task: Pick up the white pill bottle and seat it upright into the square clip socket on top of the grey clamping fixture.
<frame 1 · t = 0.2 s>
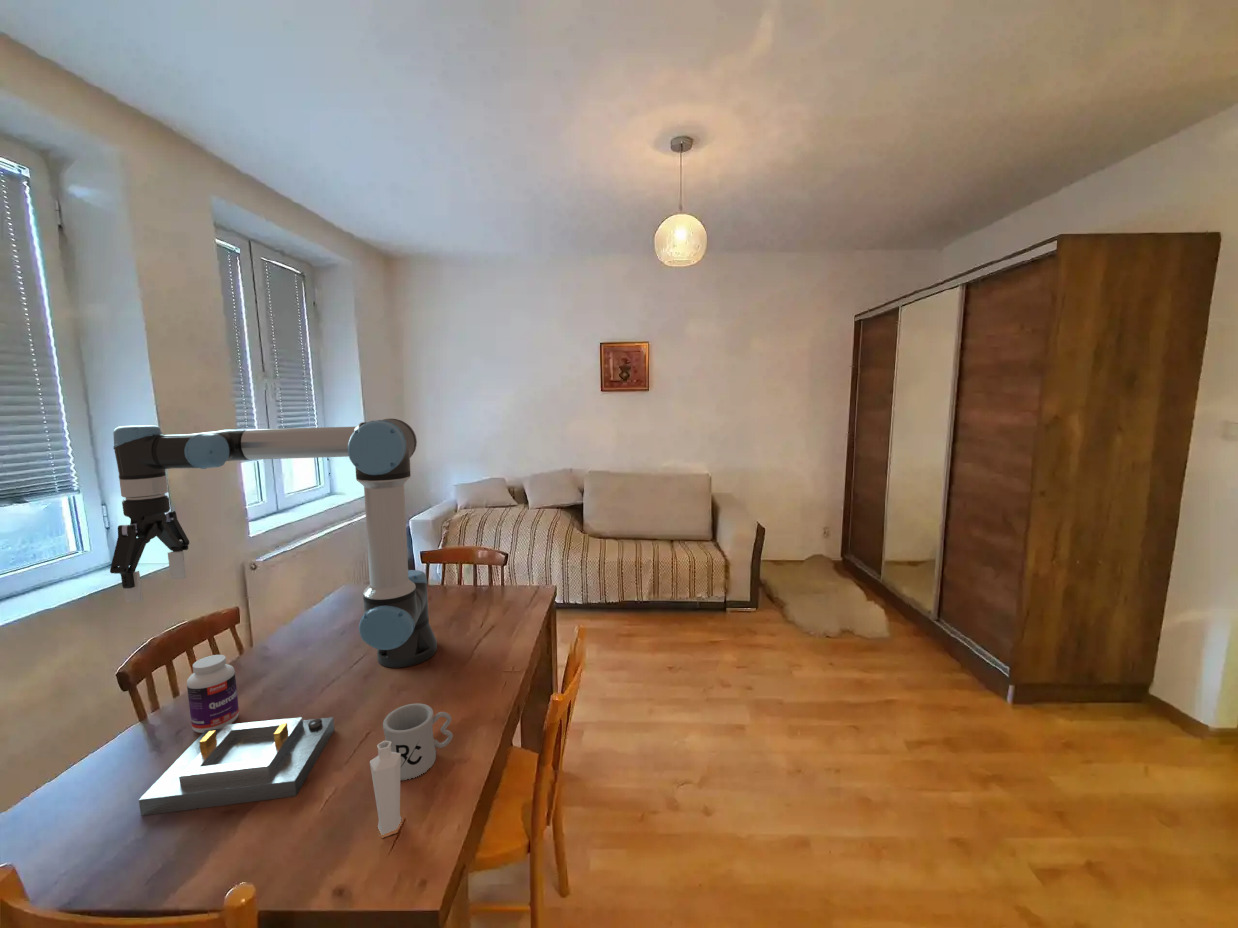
hand: (157, 589, 113), 27 cm above the table, fingers open, 13 cm apart
grey clamping fixture: (248, 767, 96), on the table
perfume bottle: (388, 829, 83), on the table
mug: (420, 762, 98), on the table
pill bottle: (216, 724, 110), on the table
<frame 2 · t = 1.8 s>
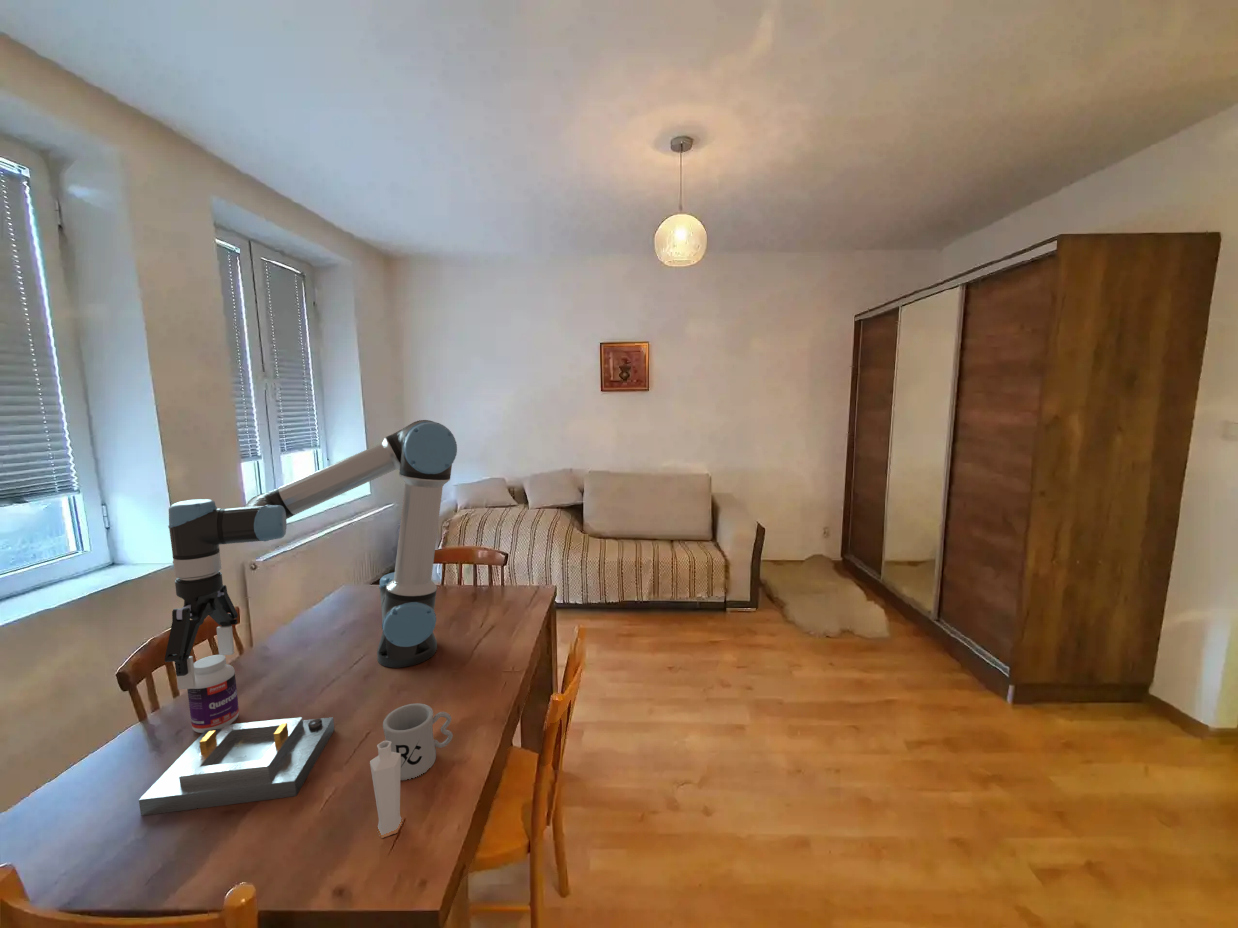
hand: (208, 670, 108), 12 cm above the table, fingers open, 13 cm apart
nothing on the table moved.
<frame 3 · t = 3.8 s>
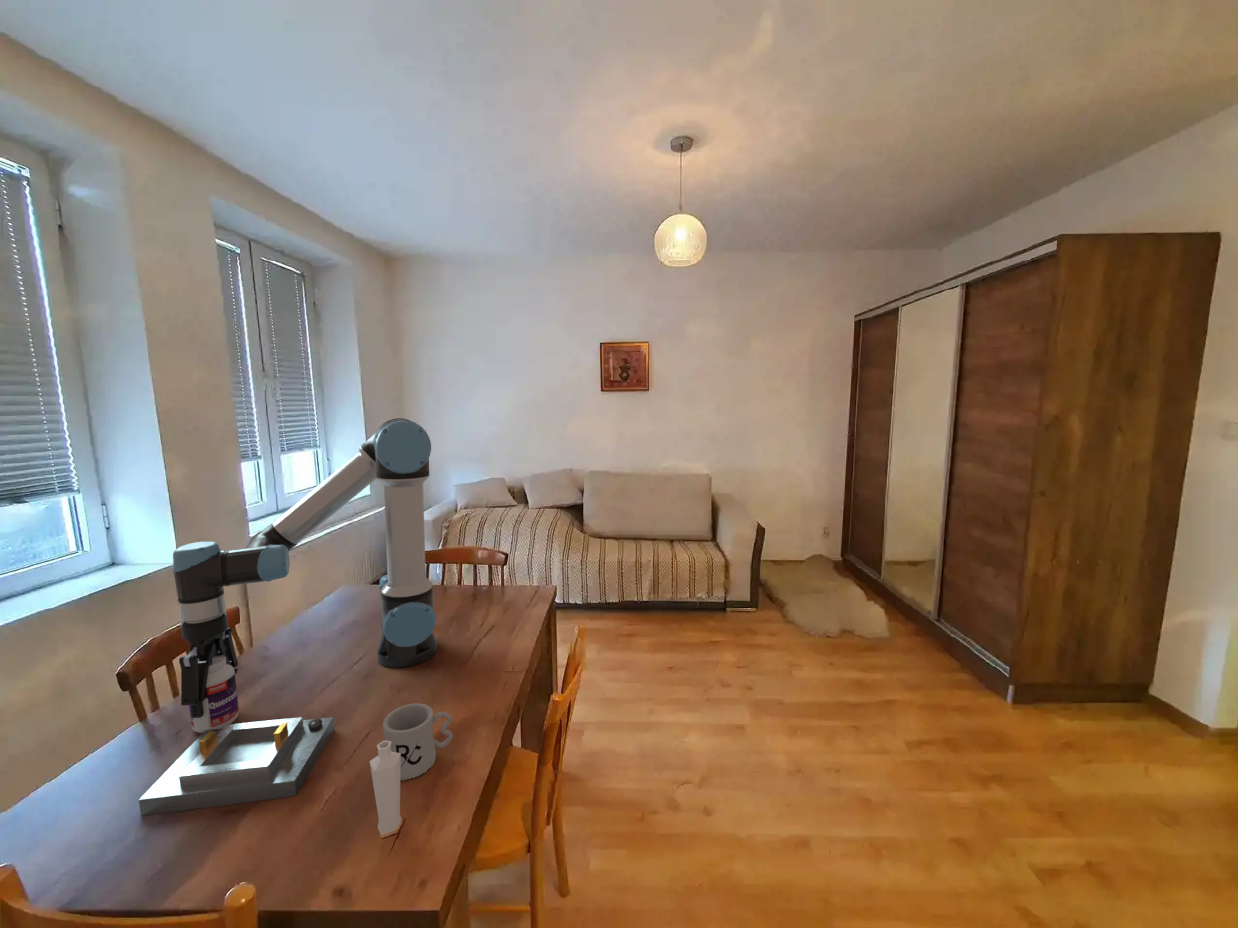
hand: (215, 715, 109), 2 cm above the table, fingers closed on pill bottle, 8 cm apart
pill bottle: (216, 723, 110), on the table, touching gripper
everything else where it was.
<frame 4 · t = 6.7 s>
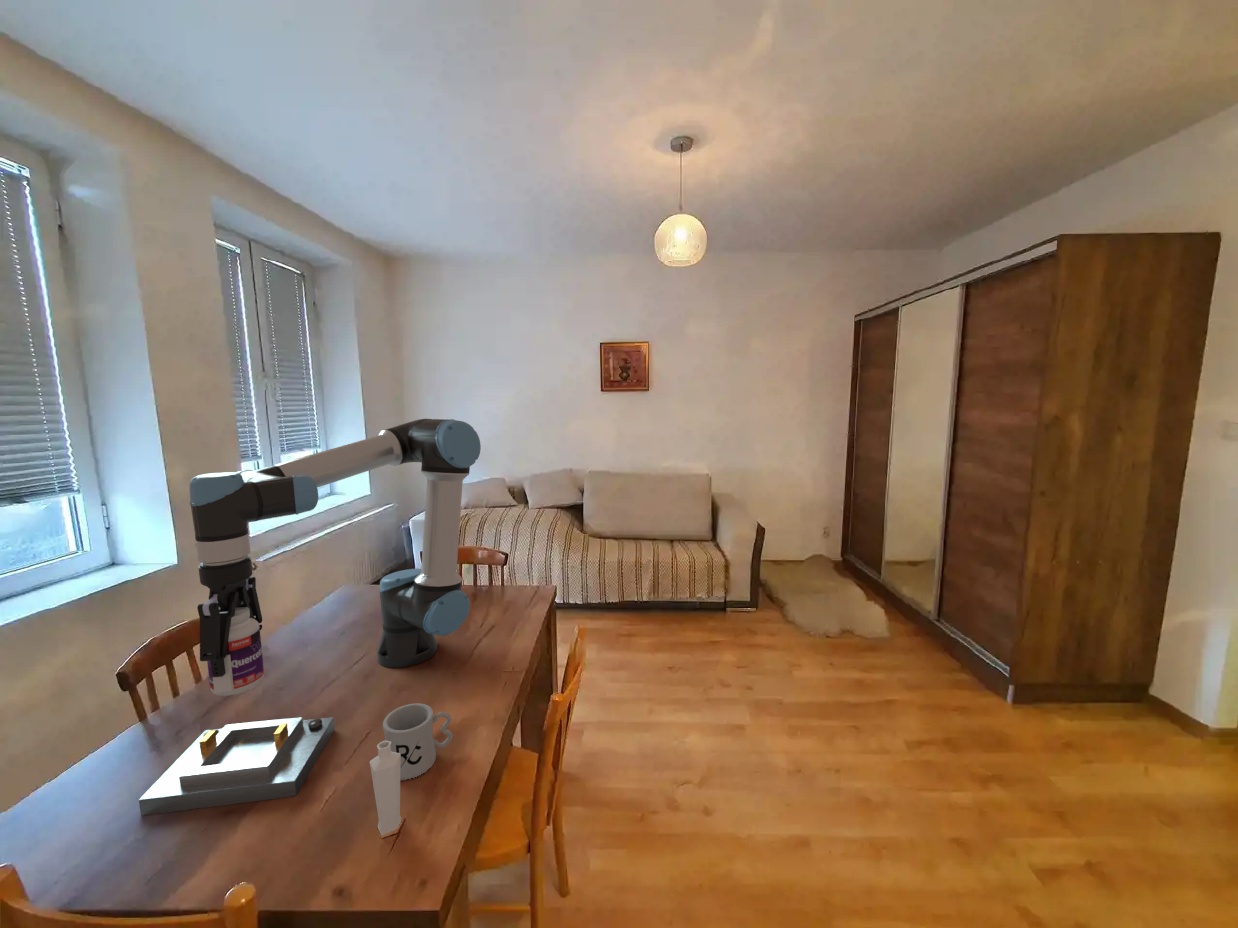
hand: (238, 676, 94), 19 cm above the table, fingers closed on pill bottle, 8 cm apart
pill bottle: (238, 686, 94), point 17 cm above the table, touching gripper
everything else where it was.
when the fingers open (7 cm above the table, at t = 9.6 s): pill bottle drops 2 cm, resting on grey clamping fixture.
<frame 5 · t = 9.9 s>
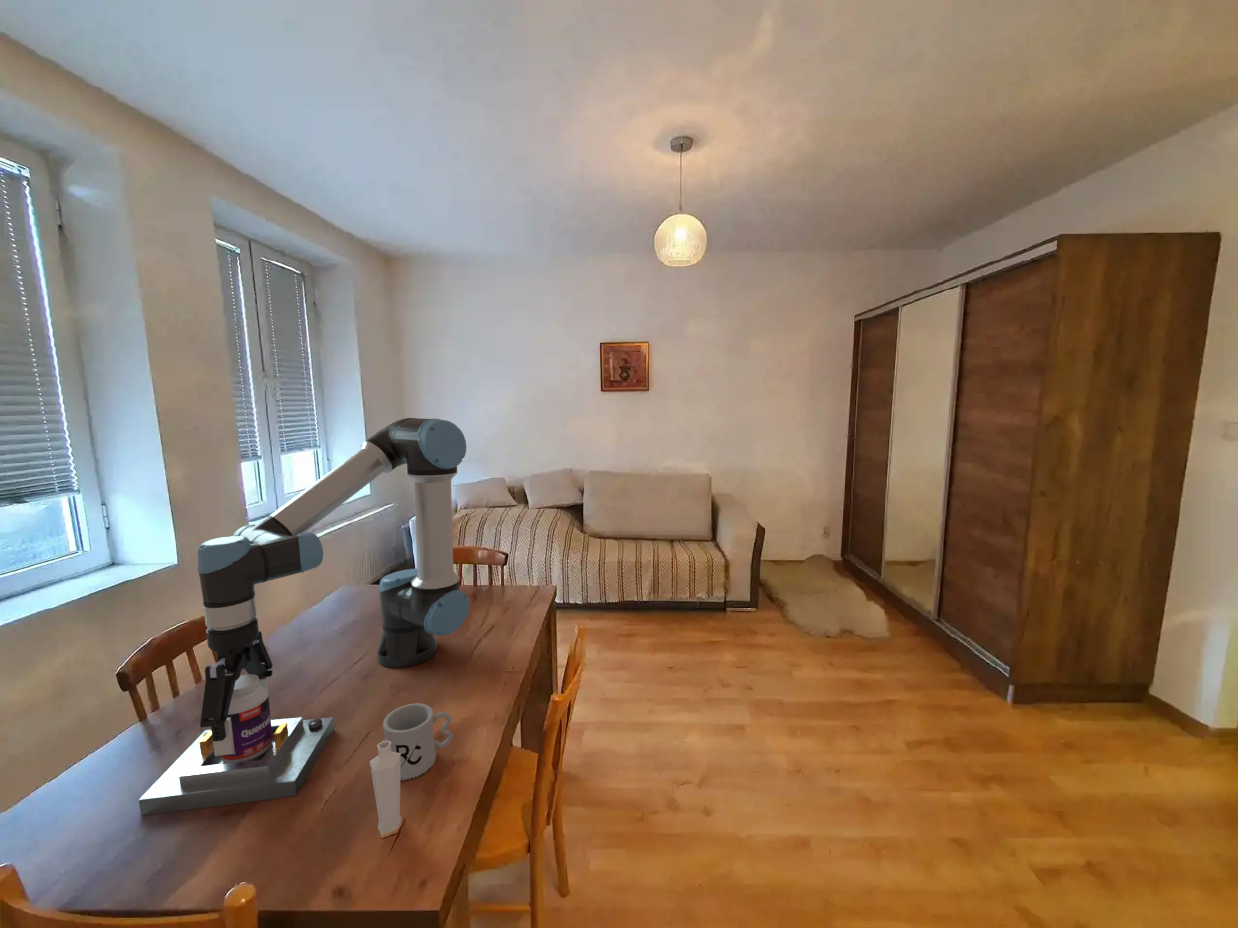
hand: (244, 730, 95), 8 cm above the table, fingers open, 12 cm apart
pill bottle: (248, 753, 96), point 3 cm above the table, touching grey clamping fixture
everything else where it was.
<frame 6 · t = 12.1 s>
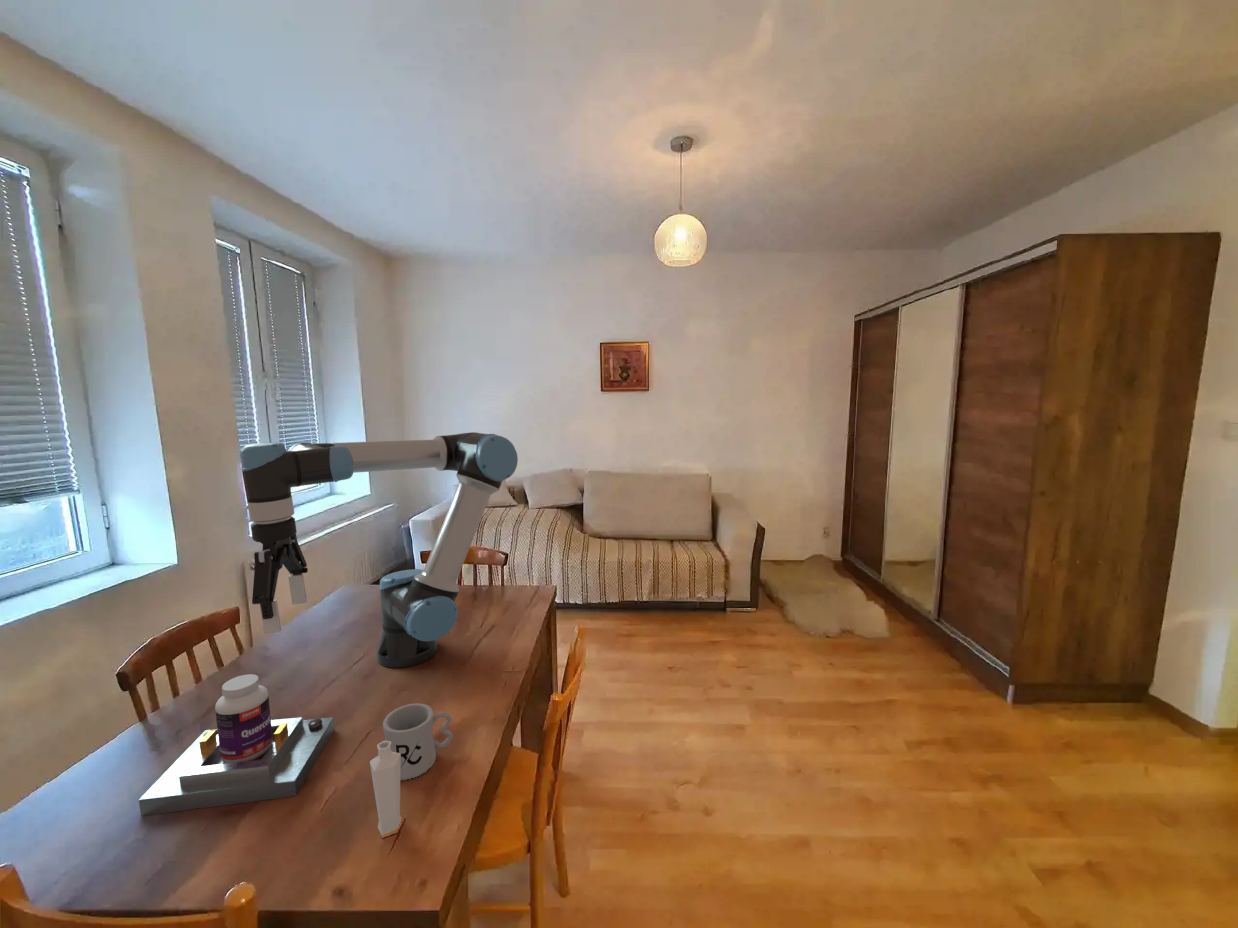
hand: (287, 616, 106), 24 cm above the table, fingers open, 13 cm apart
nothing on the table moved.
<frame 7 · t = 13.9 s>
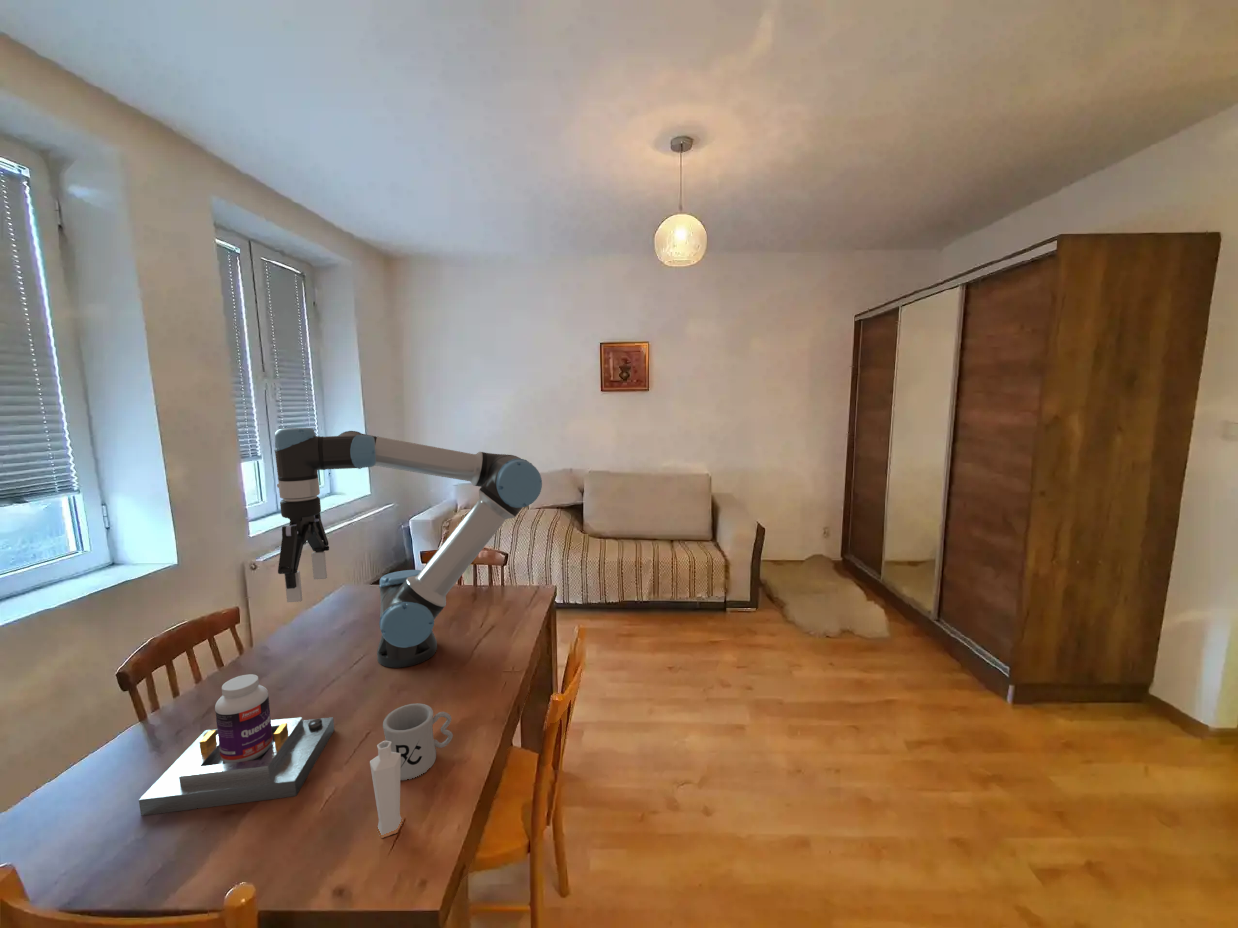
hand: (308, 589, 115), 27 cm above the table, fingers open, 13 cm apart
nothing on the table moved.
at the end: pill bottle 0.3 cm off-centre on the grey clamping fixture, point 2.8 cm above the grey clamping fixture's base; pill bottle tilted 0°; the gripper is holding nothing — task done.
